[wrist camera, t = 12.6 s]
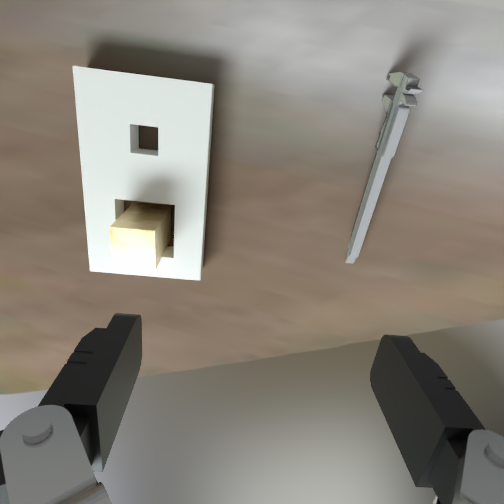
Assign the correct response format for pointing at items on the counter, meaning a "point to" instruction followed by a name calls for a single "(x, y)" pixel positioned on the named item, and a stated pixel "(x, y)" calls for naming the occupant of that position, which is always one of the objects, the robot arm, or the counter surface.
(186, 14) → the counter surface
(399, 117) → the caliper
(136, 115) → the white peg hole board
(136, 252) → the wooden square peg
